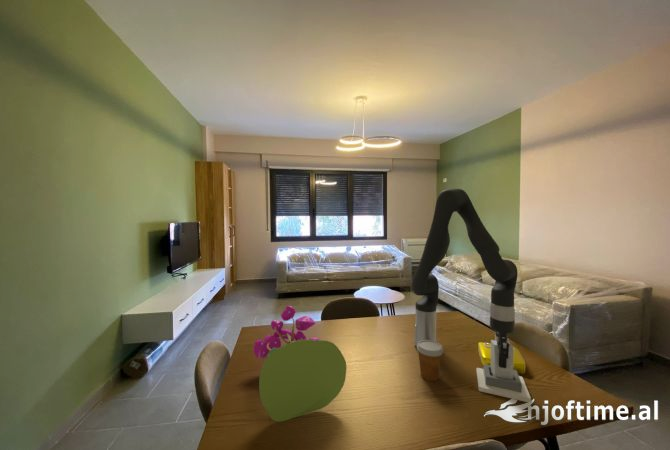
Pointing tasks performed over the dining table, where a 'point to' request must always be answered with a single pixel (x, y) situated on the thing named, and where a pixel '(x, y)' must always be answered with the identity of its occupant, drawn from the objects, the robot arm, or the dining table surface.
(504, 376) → the skincare box
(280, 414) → the potted pink orchid
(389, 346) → the dining table surface
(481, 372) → the board
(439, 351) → the disposable coffee cup
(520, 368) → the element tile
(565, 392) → the dining table surface
